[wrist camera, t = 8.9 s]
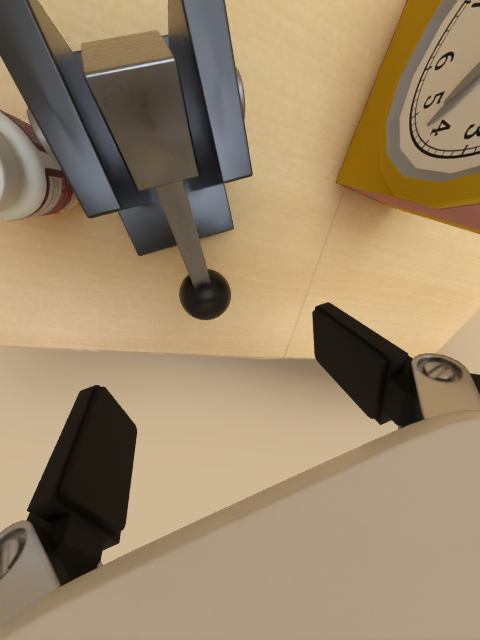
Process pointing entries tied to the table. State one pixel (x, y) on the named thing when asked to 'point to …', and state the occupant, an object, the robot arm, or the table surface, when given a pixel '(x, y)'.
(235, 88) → the switch bracket
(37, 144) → the pill bottle
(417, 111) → the alarm clock
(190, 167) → the switch lever
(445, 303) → the table surface
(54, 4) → the table surface
